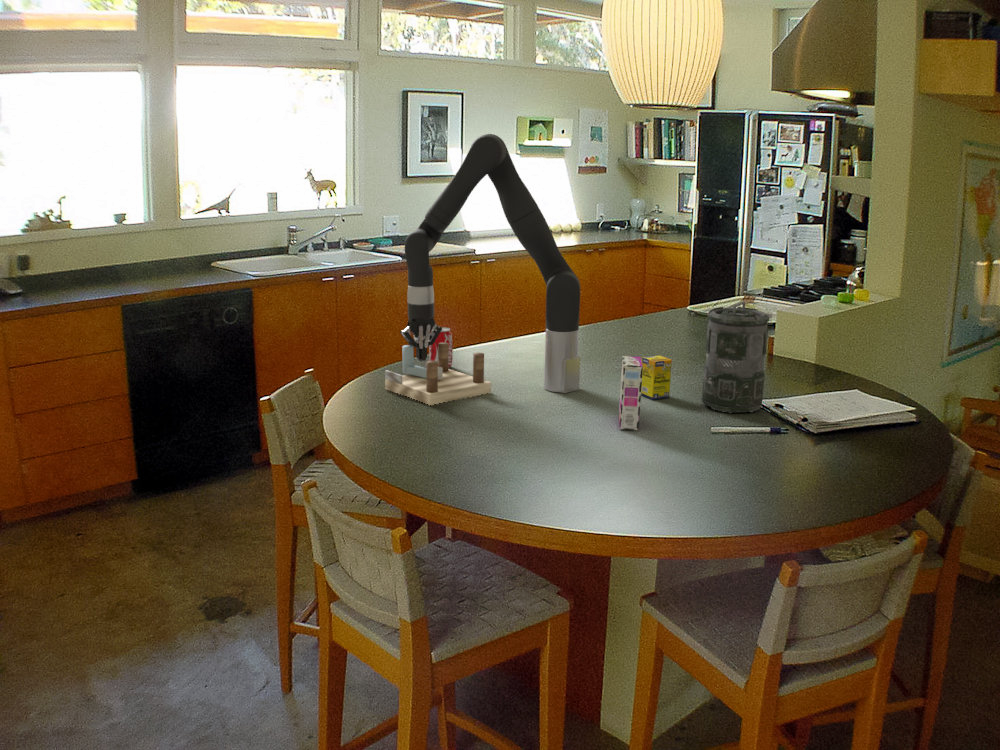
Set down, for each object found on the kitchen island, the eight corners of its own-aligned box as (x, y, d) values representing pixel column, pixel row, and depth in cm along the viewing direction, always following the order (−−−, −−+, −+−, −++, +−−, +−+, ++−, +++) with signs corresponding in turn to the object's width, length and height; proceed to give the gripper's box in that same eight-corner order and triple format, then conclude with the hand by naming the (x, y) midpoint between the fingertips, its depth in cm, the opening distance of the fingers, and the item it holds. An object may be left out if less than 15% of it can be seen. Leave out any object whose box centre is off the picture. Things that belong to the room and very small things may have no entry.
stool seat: (491, 392, 269) (491, 354, 266) (430, 405, 256) (430, 365, 253) (444, 377, 284) (444, 341, 282) (385, 389, 271) (384, 350, 268)
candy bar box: (640, 431, 237) (643, 366, 233) (619, 430, 237) (622, 365, 233) (638, 418, 248) (641, 355, 244) (618, 417, 248) (621, 355, 244)
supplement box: (652, 400, 264) (654, 361, 261) (639, 395, 269) (641, 356, 266) (670, 398, 267) (672, 359, 264) (657, 392, 272) (659, 354, 269)
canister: (750, 418, 249) (759, 311, 242) (692, 408, 257) (699, 304, 250) (769, 404, 262) (778, 302, 255) (713, 395, 270) (720, 295, 263)
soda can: (442, 371, 291) (442, 332, 288) (424, 367, 295) (424, 329, 292) (457, 367, 297) (457, 328, 294) (439, 363, 301) (439, 325, 298)
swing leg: (445, 378, 270) (445, 352, 268) (437, 381, 267) (437, 354, 265) (408, 370, 278) (407, 344, 276) (400, 372, 276) (399, 346, 274)
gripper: (406, 305, 267) (408, 366, 272) (447, 300, 274) (448, 359, 279) (393, 301, 273) (395, 360, 278) (434, 296, 280) (435, 354, 285)
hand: (421, 360), depth 278 cm, fingers closed
